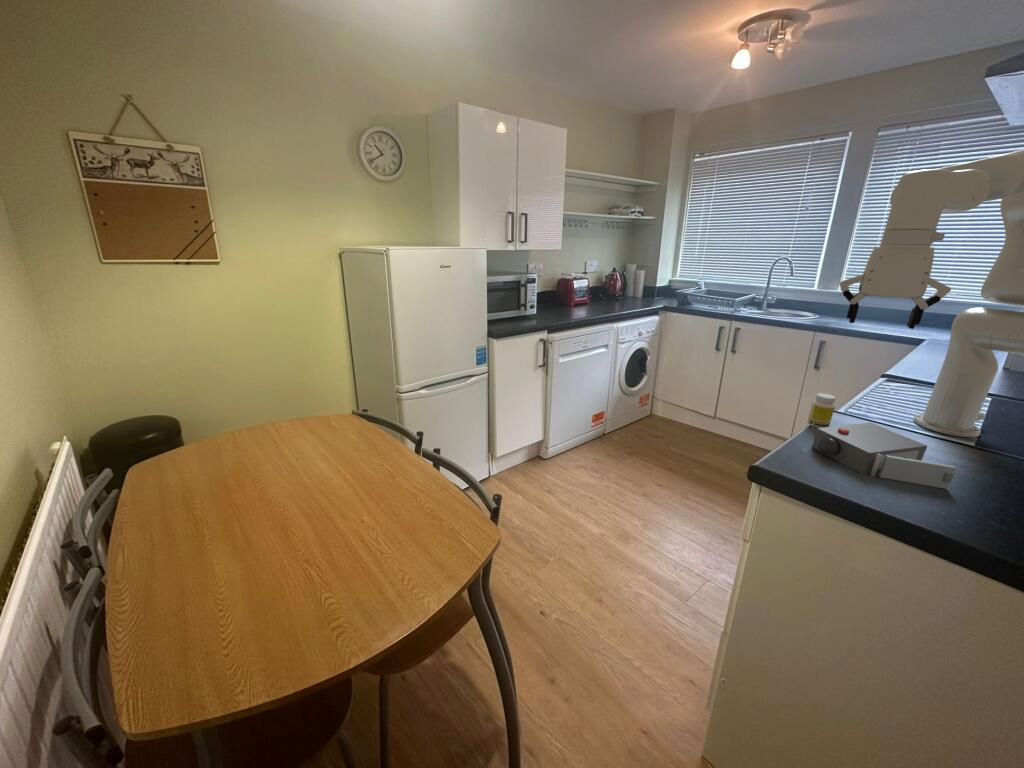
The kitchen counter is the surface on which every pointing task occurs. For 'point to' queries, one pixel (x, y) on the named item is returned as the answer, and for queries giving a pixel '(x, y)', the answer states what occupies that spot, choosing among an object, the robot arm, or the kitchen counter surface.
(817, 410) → the supplement bottle
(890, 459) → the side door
